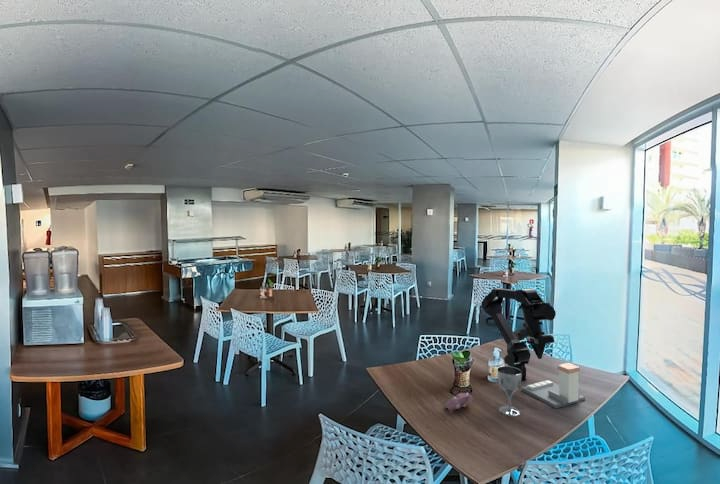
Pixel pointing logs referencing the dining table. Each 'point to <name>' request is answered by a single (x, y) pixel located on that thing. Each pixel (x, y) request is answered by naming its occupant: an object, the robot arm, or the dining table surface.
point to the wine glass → (509, 386)
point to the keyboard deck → (549, 393)
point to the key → (568, 381)
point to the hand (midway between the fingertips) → (539, 358)
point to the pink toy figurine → (459, 401)
